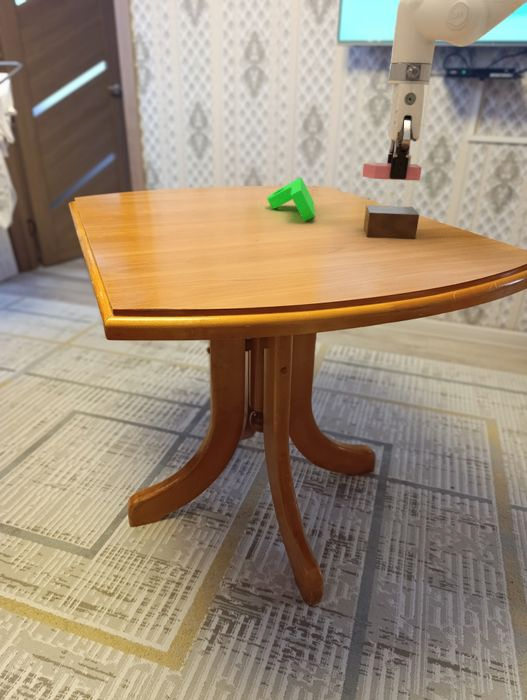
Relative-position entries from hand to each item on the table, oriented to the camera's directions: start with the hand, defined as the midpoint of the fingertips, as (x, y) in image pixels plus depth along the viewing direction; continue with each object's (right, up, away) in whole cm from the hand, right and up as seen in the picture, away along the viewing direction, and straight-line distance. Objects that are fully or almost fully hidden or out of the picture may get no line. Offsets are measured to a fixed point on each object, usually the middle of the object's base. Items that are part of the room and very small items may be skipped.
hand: (395, 175), depth 104 cm
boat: (-1, 0, 0) cm, 1 cm away
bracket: (-21, -3, +20) cm, 29 cm away
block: (0, -10, +5) cm, 12 cm away
